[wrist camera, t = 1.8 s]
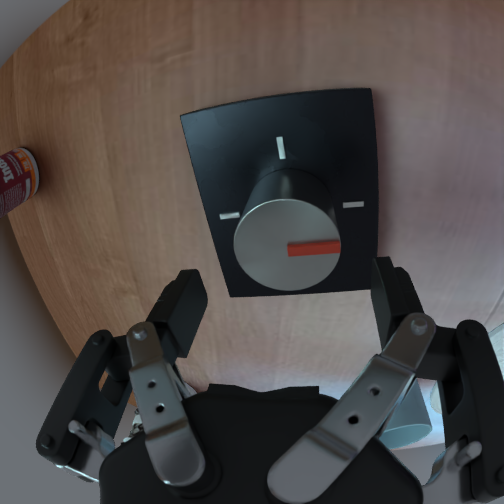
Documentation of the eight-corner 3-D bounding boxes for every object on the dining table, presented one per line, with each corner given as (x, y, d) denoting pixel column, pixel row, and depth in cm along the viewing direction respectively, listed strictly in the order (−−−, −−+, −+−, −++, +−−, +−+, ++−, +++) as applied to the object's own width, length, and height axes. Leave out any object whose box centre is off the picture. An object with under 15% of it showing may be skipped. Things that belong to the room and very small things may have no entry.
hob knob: (256, 248, 21) (243, 296, 17) (241, 174, 18) (220, 208, 14) (334, 242, 20) (342, 291, 15) (329, 164, 17) (339, 196, 13)
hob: (194, 110, 19) (178, 115, 16) (361, 87, 16) (372, 88, 14) (236, 276, 27) (229, 299, 24) (368, 267, 24) (375, 290, 21)
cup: (414, 338, 28) (432, 417, 19) (419, 370, 31) (431, 438, 22) (353, 357, 31) (358, 437, 22) (366, 385, 34) (370, 454, 25)
